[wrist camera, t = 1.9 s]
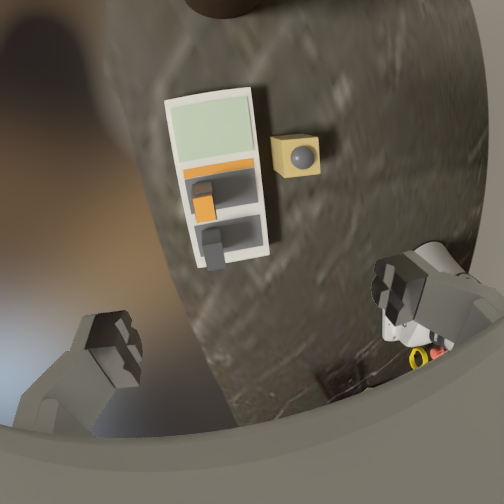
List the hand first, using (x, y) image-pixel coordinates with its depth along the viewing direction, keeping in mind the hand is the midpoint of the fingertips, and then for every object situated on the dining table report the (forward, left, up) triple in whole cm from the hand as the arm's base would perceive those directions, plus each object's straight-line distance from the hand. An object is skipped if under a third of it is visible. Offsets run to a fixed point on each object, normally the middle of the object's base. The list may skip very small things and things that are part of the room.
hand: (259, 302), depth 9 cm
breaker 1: (-3, +2, -24) cm, 24 cm away
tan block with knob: (0, -9, -26) cm, 28 cm away
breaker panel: (-2, 0, -26) cm, 26 cm away
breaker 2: (-8, +2, -24) cm, 25 cm away
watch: (-48, -39, -26) cm, 67 cm away
